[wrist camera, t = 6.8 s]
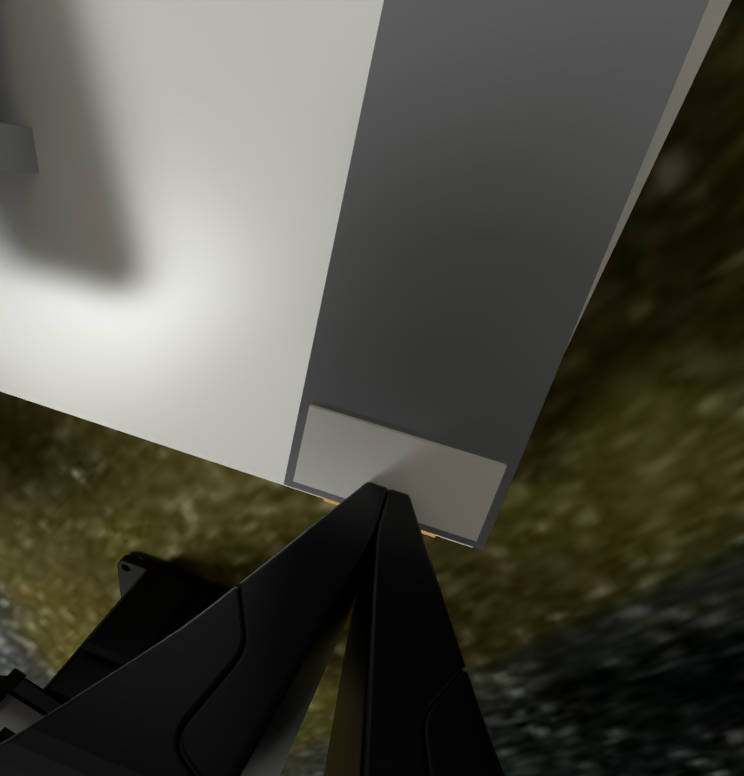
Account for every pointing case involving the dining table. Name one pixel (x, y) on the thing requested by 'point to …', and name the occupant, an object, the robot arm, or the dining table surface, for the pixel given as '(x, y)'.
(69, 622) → the dining table surface
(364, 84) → the switch base
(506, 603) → the dining table surface
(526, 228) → the block
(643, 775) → the dining table surface
